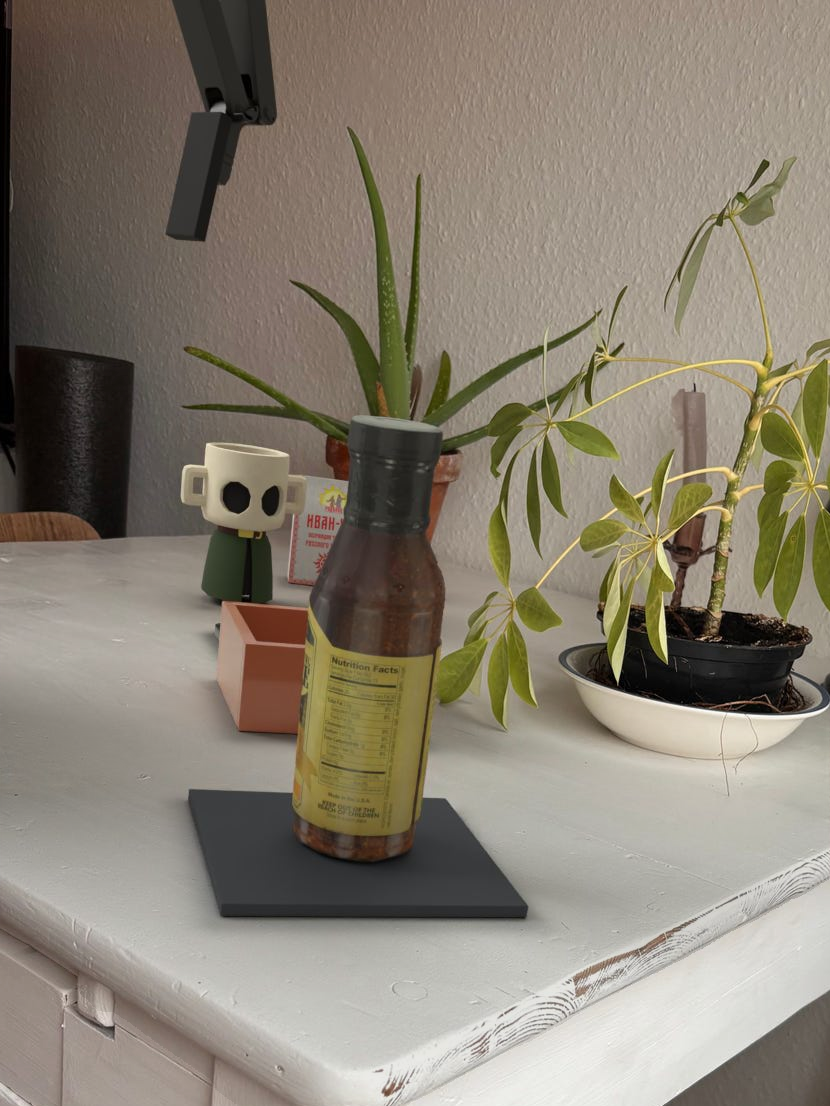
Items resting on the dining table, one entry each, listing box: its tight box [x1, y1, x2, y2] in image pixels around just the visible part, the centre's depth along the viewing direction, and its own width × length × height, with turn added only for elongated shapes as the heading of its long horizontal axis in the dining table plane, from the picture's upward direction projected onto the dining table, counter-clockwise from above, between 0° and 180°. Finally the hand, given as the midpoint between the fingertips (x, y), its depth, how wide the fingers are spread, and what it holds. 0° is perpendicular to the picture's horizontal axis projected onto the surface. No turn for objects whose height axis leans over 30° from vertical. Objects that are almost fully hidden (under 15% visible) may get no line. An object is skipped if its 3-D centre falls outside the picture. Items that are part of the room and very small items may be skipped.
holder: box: [215, 600, 308, 735], centre depth 85 cm, size 12×12×6 cm
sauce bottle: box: [292, 414, 447, 862], centre depth 59 cm, size 6×6×20 cm
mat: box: [188, 788, 529, 918], centre depth 63 cm, size 14×14×1 cm
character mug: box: [180, 442, 307, 604], centre depth 111 cm, size 11×7×13 cm, turn 115°
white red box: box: [287, 474, 348, 587], centre depth 125 cm, size 4×7×10 cm, turn 99°
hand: (79, 186), depth 66 cm, fingers open, 13 cm apart
